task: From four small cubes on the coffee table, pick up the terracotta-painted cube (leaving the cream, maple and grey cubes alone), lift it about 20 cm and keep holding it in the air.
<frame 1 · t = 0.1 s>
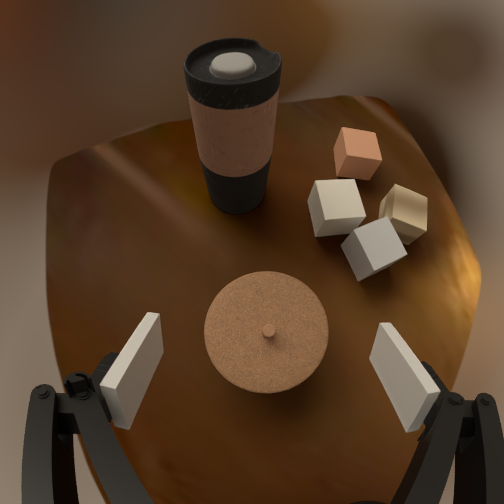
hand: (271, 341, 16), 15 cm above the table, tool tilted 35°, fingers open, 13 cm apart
cube terracotta: (351, 164, 39), on the table
lidded jar: (262, 336, 31), on the table
cube cream: (329, 217, 36), on the table
cube maple: (394, 223, 36), on the table
travel mug: (237, 190, 37), on the table
cube grey: (365, 256, 35), on the table
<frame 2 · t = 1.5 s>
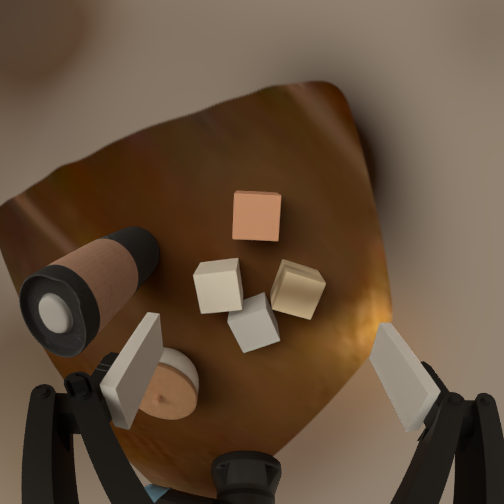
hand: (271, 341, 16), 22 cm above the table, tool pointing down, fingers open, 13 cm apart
cube terracotta: (256, 211, 36), on the table
lidded jar: (171, 362, 42), on the table
cube cream: (222, 278, 38), on the table
cube maple: (293, 281, 39), on the table
travel mug: (136, 251, 38), on the table
cube grey: (254, 313, 40), on the table
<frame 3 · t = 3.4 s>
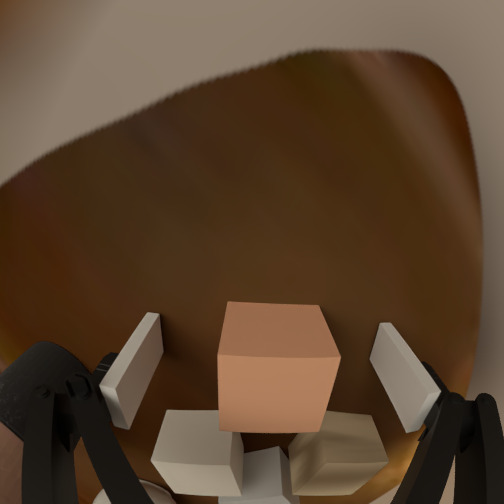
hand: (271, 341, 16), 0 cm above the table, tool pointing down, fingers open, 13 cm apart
cube terracotta: (270, 341, 16), on the table
lidded jar: (146, 488, 23), on the table
cube cream: (207, 430, 19), on the table
cube maple: (329, 431, 19), on the table
travel mug: (63, 375, 18), on the table
cube grey: (260, 464, 20), on the table
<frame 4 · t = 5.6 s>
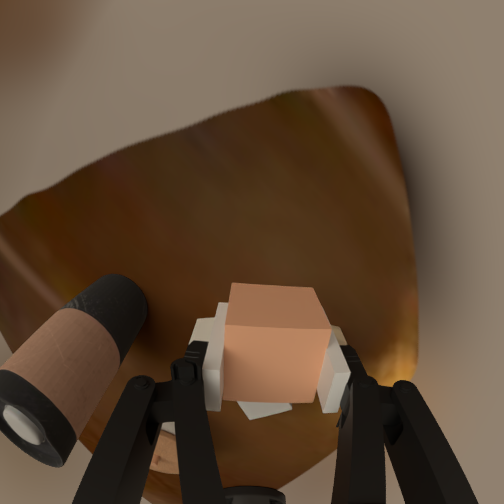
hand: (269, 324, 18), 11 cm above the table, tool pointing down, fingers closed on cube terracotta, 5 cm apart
cube terracotta: (269, 320, 18), point 10 cm above the table, touching gripper
lidded jar: (169, 413, 36), on the table
cube cream: (224, 336, 31), on the table
travel mug: (120, 301, 30), on the table
cube grey: (262, 372, 32), on the table
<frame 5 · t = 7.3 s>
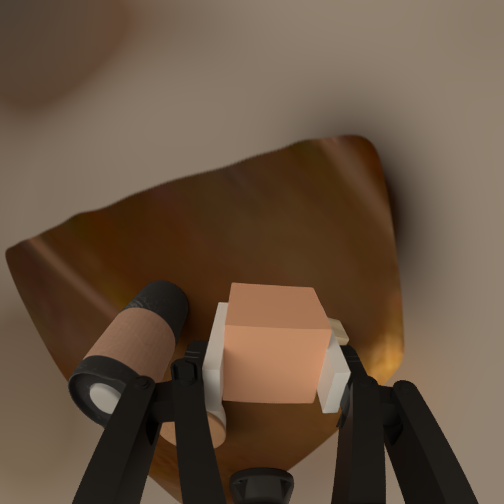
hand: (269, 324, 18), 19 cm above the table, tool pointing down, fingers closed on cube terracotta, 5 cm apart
cube terracotta: (269, 320, 18), point 18 cm above the table, touching gripper
lidded jar: (197, 398, 44), on the table
cube maple: (316, 331, 40), on the table
travel mug: (164, 303, 39), on the table
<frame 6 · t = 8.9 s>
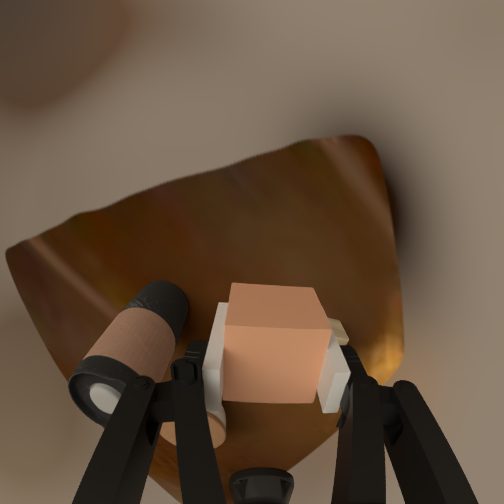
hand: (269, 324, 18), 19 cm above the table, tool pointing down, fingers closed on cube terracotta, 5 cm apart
cube terracotta: (269, 320, 18), point 18 cm above the table, touching gripper
lidded jar: (197, 398, 44), on the table
cube maple: (316, 331, 40), on the table
travel mug: (164, 303, 39), on the table
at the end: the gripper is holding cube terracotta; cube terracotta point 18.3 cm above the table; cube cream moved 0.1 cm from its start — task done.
